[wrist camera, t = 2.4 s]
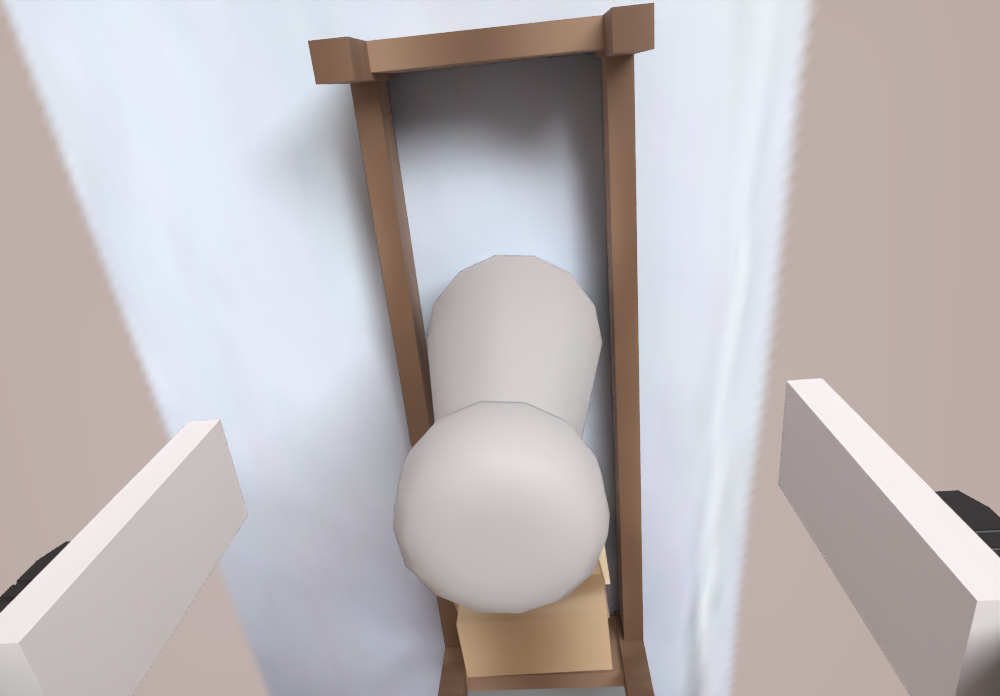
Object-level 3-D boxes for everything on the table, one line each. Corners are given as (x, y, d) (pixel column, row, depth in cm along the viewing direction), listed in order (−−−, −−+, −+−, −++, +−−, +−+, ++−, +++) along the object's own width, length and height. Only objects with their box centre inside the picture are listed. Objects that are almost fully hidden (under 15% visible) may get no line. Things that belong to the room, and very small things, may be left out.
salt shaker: (623, 283, 23) (722, 499, 11) (549, 409, 25) (566, 704, 13) (476, 210, 23) (415, 359, 11) (412, 346, 25) (300, 600, 13)
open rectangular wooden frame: (625, 20, 20) (653, 2, 15) (637, 628, 29) (657, 730, 25) (357, 49, 21) (307, 40, 16) (452, 635, 30) (438, 736, 25)
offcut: (601, 573, 24) (607, 614, 22) (607, 625, 25) (612, 669, 23) (462, 583, 24) (456, 624, 22) (472, 633, 25) (467, 677, 23)
